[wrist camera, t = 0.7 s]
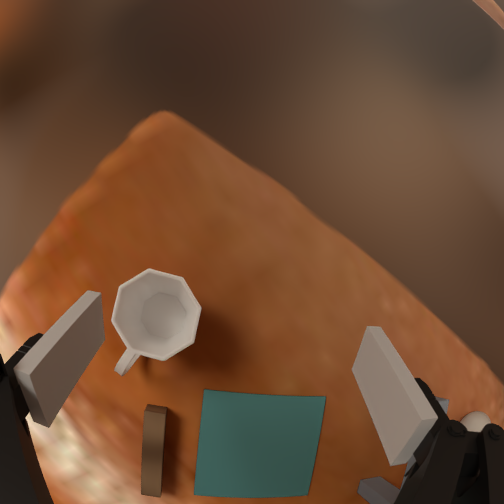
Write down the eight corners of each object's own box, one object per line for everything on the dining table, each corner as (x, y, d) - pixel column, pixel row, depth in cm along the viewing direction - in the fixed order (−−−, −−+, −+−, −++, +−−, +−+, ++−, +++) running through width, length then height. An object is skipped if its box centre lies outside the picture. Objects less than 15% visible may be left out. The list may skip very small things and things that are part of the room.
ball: (468, 438, 34) (492, 445, 28) (446, 445, 33) (471, 454, 28) (475, 406, 35) (500, 411, 30) (453, 411, 34) (480, 417, 29)
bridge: (398, 387, 33) (449, 399, 24) (376, 488, 30) (416, 517, 21) (378, 388, 33) (428, 402, 24) (357, 492, 30) (395, 524, 21)
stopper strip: (161, 486, 26) (160, 497, 24) (143, 483, 26) (141, 494, 23) (167, 407, 28) (165, 414, 26) (147, 404, 28) (144, 410, 26)
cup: (213, 308, 31) (220, 304, 24) (157, 387, 29) (146, 409, 21) (156, 266, 31) (146, 249, 23) (100, 345, 28) (73, 352, 21)
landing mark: (306, 494, 29) (307, 495, 28) (193, 494, 27) (194, 494, 26) (325, 396, 32) (325, 396, 31) (204, 389, 30) (204, 389, 29)
